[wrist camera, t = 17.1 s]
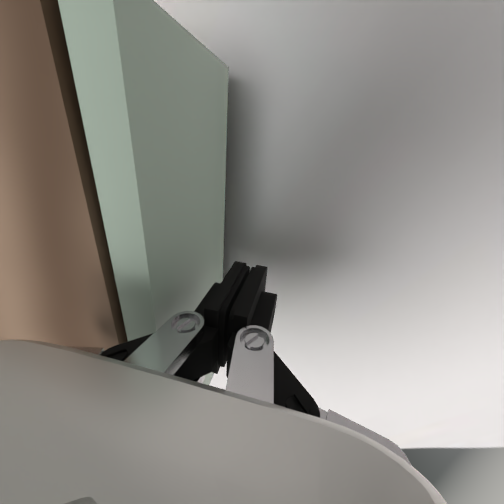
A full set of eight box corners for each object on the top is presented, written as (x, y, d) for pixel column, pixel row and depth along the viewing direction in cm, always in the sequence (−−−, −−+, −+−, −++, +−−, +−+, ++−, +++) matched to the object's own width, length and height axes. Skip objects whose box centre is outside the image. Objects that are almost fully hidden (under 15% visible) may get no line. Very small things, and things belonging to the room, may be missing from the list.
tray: (228, 67, 11) (107, -41, 5) (220, 358, 20) (174, 466, 13) (-26, 59, 14) (-329, -16, 8) (63, 317, 23) (-41, 389, 16)
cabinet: (206, 72, 13) (30, -44, 5) (207, 343, 21) (145, 460, 14) (-21, 64, 16) (-370, -18, 8) (61, 306, 24) (-62, 386, 16)
